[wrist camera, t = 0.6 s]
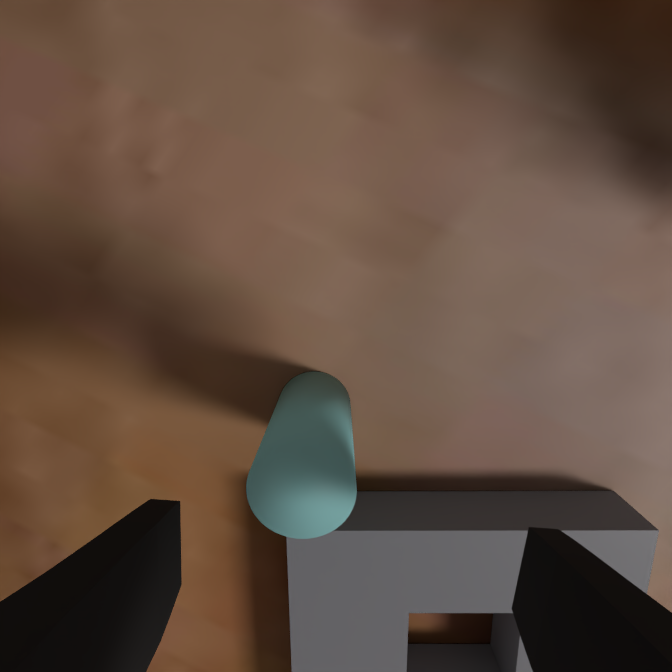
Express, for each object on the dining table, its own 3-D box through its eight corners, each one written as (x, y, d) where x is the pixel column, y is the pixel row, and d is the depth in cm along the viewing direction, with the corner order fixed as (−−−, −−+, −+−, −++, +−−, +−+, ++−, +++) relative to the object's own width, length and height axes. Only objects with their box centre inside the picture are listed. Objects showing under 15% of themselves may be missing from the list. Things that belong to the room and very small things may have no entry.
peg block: (300, 703, 20) (295, 767, 18) (293, 491, 17) (286, 530, 15) (579, 704, 20) (613, 768, 17) (613, 490, 17) (658, 530, 15)
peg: (280, 438, 17) (249, 538, 11) (277, 371, 16) (243, 440, 10) (350, 438, 17) (356, 538, 11) (350, 371, 16) (356, 439, 10)
